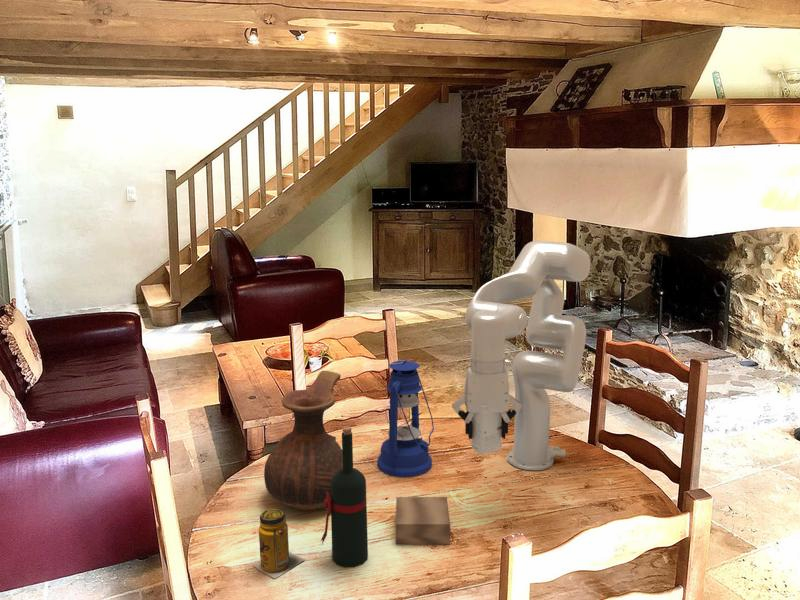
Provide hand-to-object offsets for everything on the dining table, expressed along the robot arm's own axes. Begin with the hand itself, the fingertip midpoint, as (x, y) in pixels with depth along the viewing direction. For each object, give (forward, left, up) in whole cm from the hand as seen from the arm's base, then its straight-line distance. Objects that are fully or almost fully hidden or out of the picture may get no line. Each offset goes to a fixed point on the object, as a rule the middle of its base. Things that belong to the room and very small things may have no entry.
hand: (486, 435), depth 168 cm
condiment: (+46, +20, -20) cm, 54 cm away
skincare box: (0, 0, -3) cm, 3 cm away
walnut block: (+15, +7, -20) cm, 26 cm away
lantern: (+19, -26, -20) cm, 38 cm away
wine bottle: (+32, +18, -20) cm, 42 cm away
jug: (+43, -8, -20) cm, 48 cm away
